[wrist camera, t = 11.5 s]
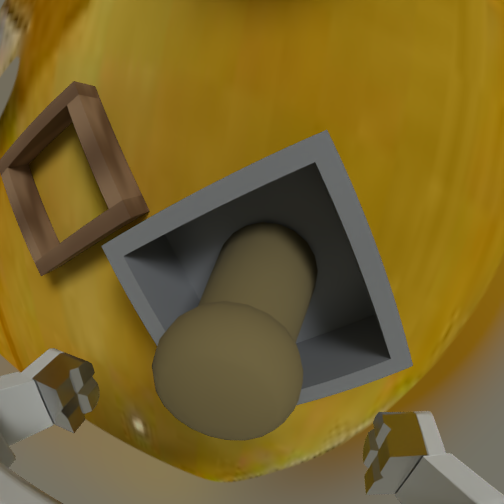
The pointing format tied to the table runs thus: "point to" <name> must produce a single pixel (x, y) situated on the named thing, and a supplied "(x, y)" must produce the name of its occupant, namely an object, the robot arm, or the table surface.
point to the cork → (241, 338)
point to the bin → (303, 223)
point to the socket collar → (100, 160)
